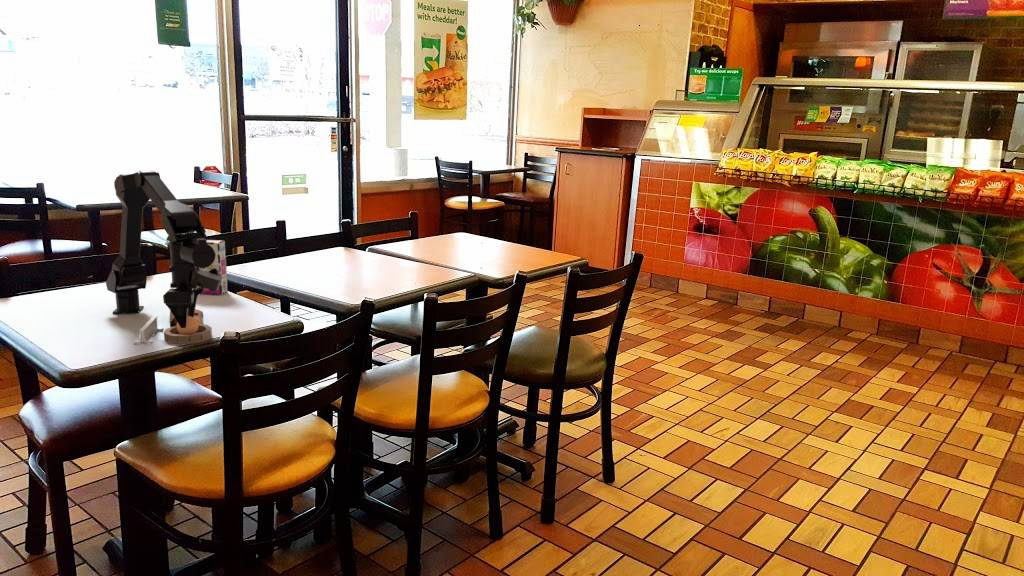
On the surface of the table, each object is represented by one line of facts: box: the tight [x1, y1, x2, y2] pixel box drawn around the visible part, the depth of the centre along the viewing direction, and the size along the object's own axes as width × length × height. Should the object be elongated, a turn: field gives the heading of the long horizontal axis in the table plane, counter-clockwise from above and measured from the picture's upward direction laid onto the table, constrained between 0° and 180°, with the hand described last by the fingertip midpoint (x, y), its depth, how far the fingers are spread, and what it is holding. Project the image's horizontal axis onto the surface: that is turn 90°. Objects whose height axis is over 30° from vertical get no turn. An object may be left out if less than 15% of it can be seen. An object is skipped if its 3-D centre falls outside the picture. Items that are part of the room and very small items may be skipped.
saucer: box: [163, 323, 213, 345], centre depth 189 cm, size 11×11×2 cm
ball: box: [177, 316, 198, 335], centre depth 189 cm, size 5×5×5 cm
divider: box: [133, 316, 165, 345], centre depth 189 cm, size 12×4×4 cm, turn 11°
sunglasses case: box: [169, 308, 204, 328], centre depth 201 cm, size 18×7×7 cm
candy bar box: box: [198, 239, 229, 296], centre depth 231 cm, size 11×5×16 cm, turn 88°
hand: (187, 322), depth 189 cm, fingers open, 9 cm apart
